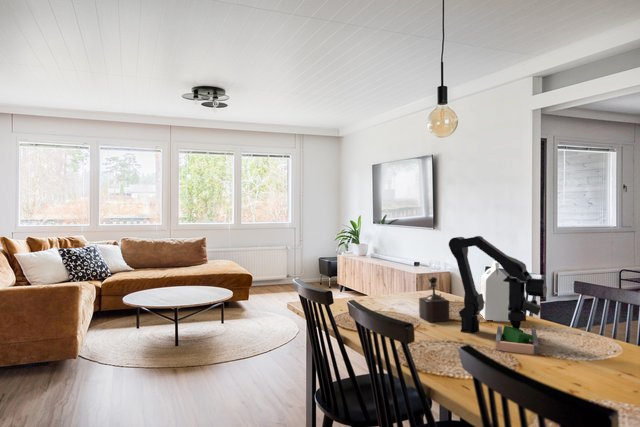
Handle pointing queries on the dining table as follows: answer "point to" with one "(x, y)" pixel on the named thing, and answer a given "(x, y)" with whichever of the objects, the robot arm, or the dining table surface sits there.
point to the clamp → (515, 335)
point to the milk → (495, 294)
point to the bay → (517, 344)
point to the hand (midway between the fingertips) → (516, 333)
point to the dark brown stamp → (434, 306)
